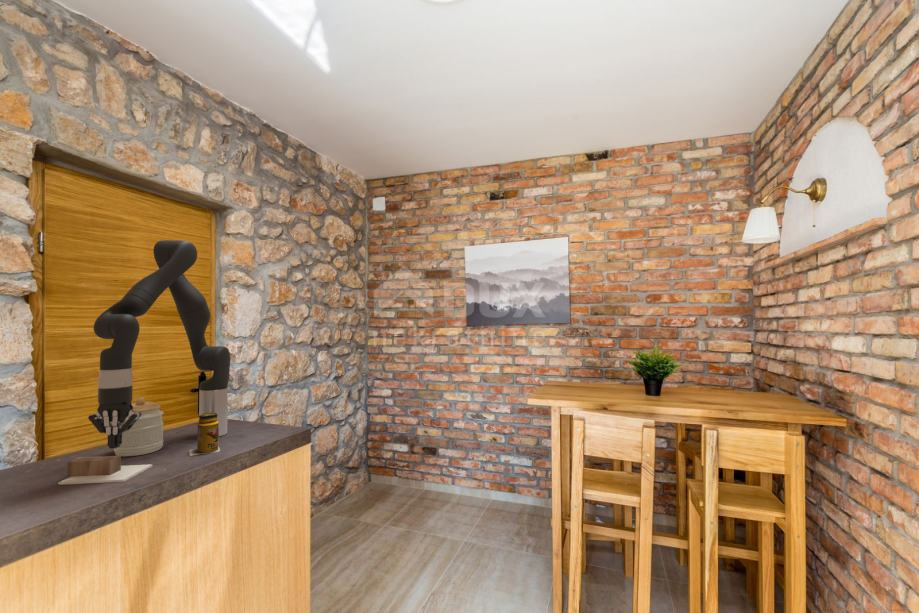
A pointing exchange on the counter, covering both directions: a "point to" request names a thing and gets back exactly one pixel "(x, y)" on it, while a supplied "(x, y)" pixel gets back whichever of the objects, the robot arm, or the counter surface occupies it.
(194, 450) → the condiment
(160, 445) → the jar
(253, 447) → the counter surface
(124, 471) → the mat
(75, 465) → the block
